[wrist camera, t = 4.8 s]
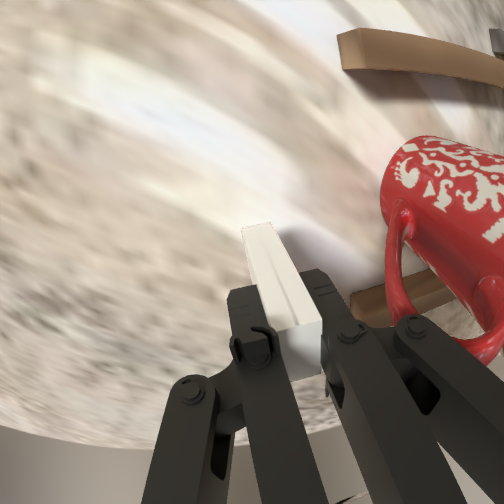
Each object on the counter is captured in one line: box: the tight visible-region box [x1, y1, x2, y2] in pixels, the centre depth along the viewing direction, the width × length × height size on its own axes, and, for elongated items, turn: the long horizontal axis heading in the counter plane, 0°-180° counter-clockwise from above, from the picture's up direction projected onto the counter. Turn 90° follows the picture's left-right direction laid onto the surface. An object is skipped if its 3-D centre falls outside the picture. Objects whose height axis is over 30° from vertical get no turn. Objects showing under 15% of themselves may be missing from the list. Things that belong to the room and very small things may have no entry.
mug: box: [380, 136, 504, 366], centre depth 11 cm, size 13×9×14 cm
